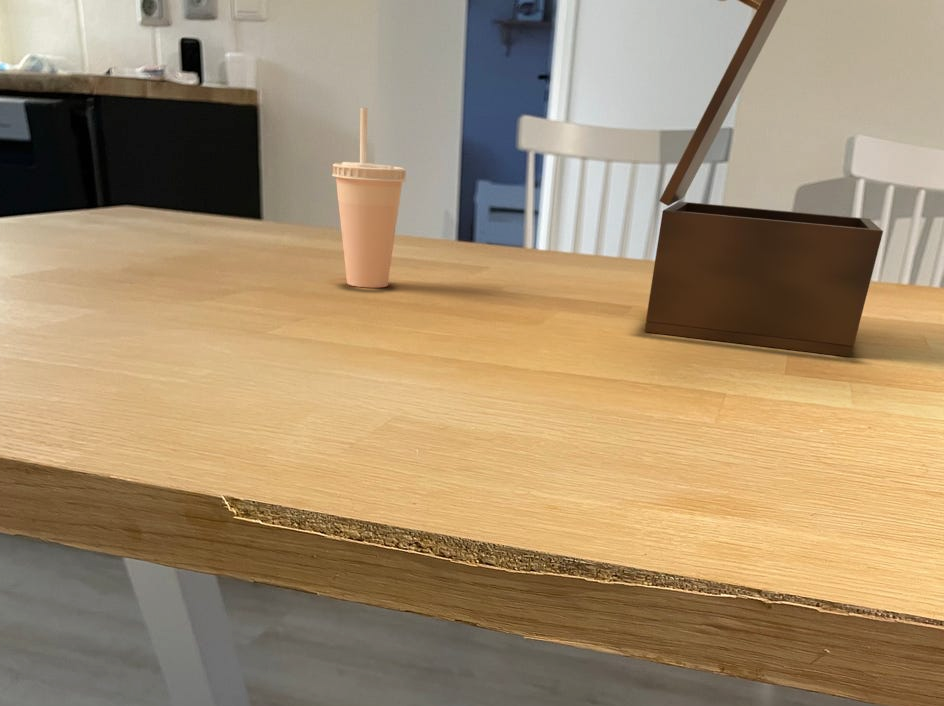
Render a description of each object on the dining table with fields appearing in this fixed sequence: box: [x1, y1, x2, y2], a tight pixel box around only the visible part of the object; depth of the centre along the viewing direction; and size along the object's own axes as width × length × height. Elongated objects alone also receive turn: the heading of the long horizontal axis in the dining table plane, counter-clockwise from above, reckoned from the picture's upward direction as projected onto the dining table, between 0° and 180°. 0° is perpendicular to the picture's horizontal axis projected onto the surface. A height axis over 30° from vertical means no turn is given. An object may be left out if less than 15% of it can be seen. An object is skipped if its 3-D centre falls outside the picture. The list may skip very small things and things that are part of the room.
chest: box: [644, 200, 884, 358], centre depth 76 cm, size 16×13×9 cm
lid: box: [659, 0, 788, 207], centre depth 71 cm, size 16×13×5 cm
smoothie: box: [331, 107, 407, 289], centre depth 83 cm, size 6×6×14 cm
